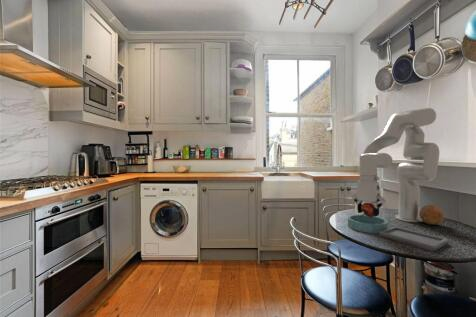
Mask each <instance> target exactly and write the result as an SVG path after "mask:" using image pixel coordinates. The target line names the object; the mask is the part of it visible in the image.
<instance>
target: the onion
mask: <svg viewBox="0 0 476 317" xmlns="http://www.w3.org/2000/svg"><path fill="white" fill-rule="evenodd" d="M419 211H420V213H419V217H420V218H421V219H422V220H423V221H422V222H423V223H425V224H427V225H439V224H440V223H442V222H443V220H444V213H443V211H442V210H441V209H440V208H439V207H438V206H435V205H433V204H426V205H423V206H422V207H421V209H419Z"/></svg>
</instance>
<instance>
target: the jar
mask: <svg viewBox="0 0 476 317" xmlns="http://www.w3.org/2000/svg"><path fill="white" fill-rule="evenodd" d="M356 198H357V196H356ZM354 202H355V201H354ZM364 203H371V202H365V201H363V202H362V203H361V204H362V205H363V204H364ZM371 204H372V203H371ZM363 214H364V212H361V213H358V210H357V204H356V202H355V203H354V215H363ZM364 215H365V214H364Z"/></svg>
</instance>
